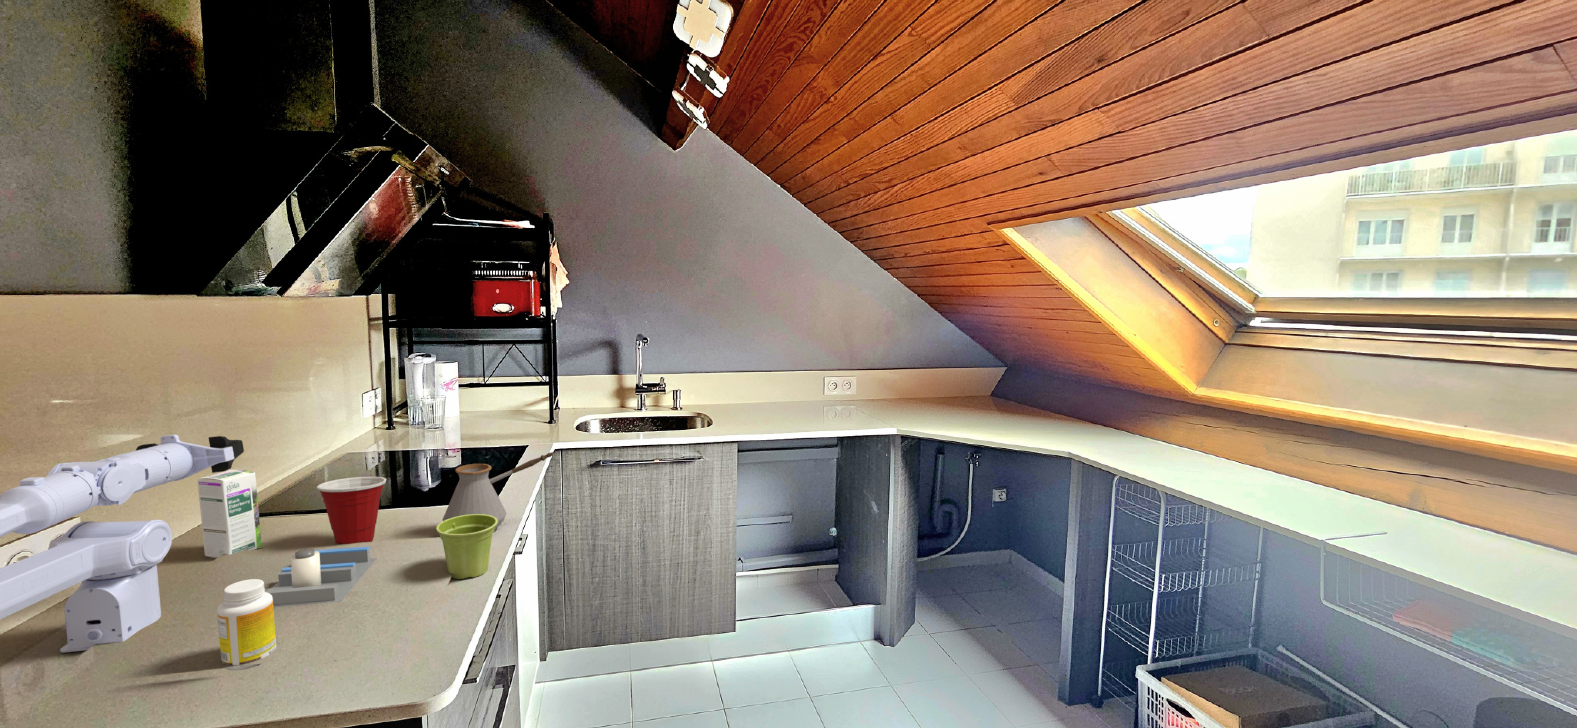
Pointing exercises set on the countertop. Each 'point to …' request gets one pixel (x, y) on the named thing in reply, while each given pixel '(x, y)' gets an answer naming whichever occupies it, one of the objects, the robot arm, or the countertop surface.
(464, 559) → the plant pot
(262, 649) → the supplement bottle
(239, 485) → the syrup box
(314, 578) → the grey-capped cream cylinder
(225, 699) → the countertop surface
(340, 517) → the plastic cup
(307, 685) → the countertop surface
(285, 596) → the grey and blue rack
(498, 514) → the coffee pot
